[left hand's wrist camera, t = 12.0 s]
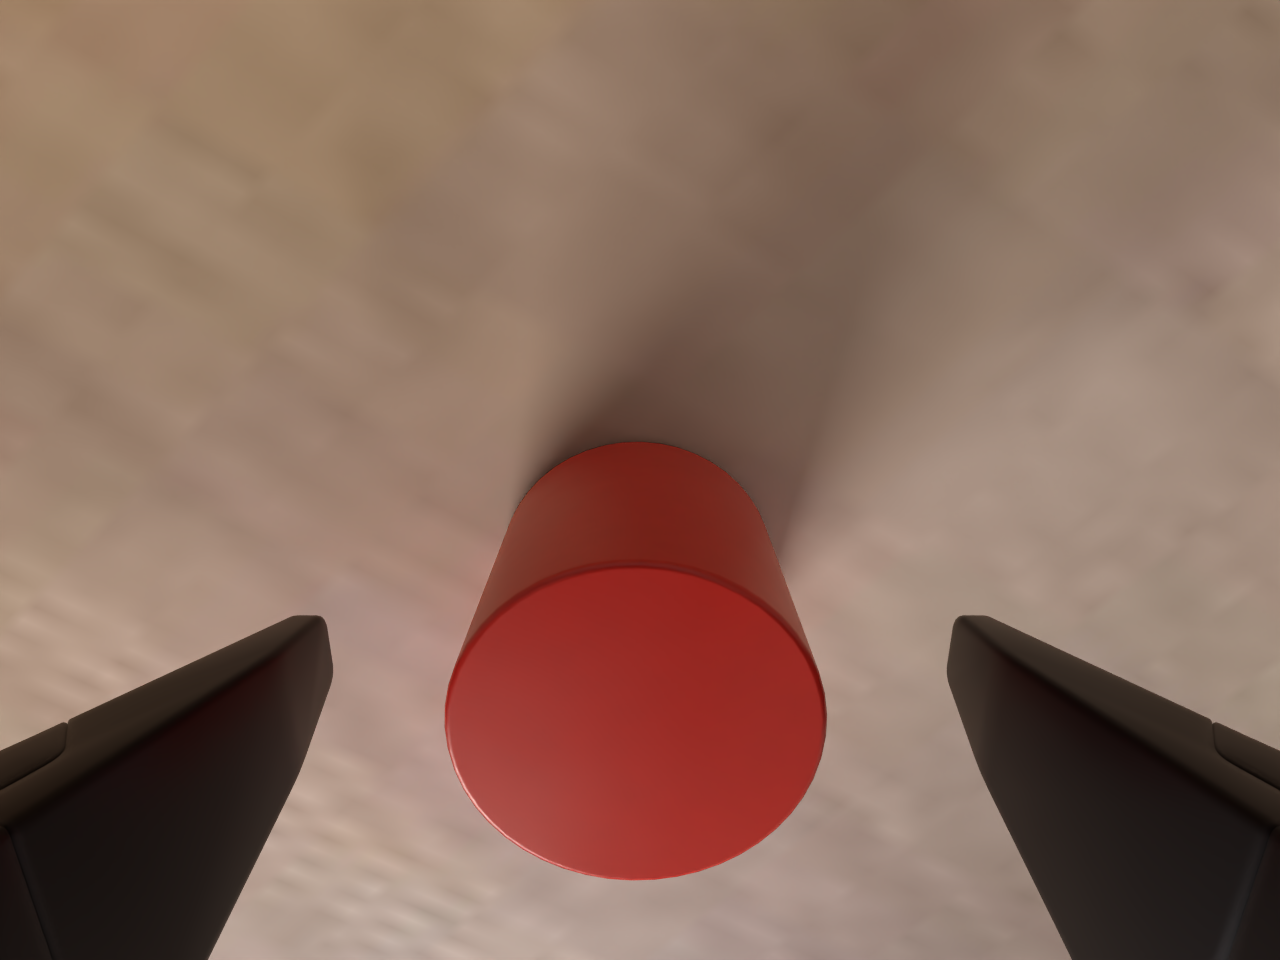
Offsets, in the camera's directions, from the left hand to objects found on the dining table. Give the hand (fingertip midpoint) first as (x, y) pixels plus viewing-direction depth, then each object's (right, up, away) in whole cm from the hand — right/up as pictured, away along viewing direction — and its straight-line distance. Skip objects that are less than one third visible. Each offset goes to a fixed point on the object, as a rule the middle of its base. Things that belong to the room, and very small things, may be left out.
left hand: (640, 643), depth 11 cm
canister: (0, +1, +2) cm, 2 cm away
